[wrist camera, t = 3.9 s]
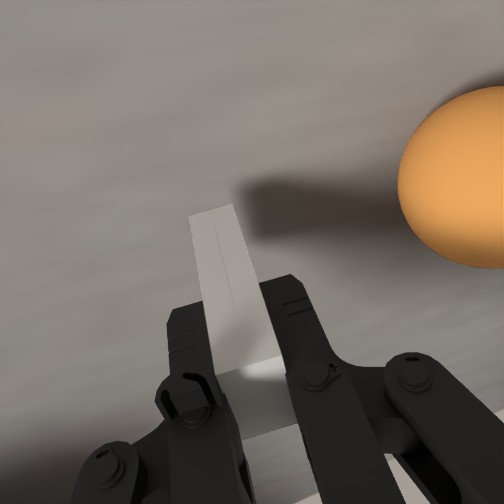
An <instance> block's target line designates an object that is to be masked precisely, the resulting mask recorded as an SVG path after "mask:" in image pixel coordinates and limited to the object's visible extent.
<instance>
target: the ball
mask: <svg viewBox="0 0 504 504" xmlns="http://www.w3.org/2000/svg"><path fill="white" fill-rule="evenodd" d="M398 196H399V200H400V205H401V209H402V211H403V214H404V216H405V218H406V220H407V222H408V224H409V226H410V227H411V229H412V230H413V231H414V233H415V234H416V235H417V237H418V238H419V239H420V240H421V241H422V242H423V243H425V244H426V245H427V246H428V247H429V248H430V249H432V250H433V251H435V252H436V253H438V254H439V255H441V256H443V257H445V258H447V259H449V260H452V261H454V262H456V263H459V264H463V265H467V266H471V267H478V268H489V269H494V268H504V86H496V87H487V88H482V89H478V90H475V91H471V92H468V93H466V94H463V95H461V96H458V97H456V98H454V99H452V100H451V101H449V102H447V103H446V104H444V105H443V106H441V107H440V108H438V109H437V110H436V111H434V112H433V113H432V114H431V115H430V116H429V117H427V118H426V119H425V120H424V121H423V123H422V124H421V125H420V126H419V127H418V128H417V130H416V131H415V133H414V134H413V135H412V137H411V139H410V140H409V142H408V144H407V146H406V148H405V151H404V153H403V156H402V159H401V162H400V166H399V171H398Z"/></svg>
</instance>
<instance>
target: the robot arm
mask: <svg viewBox="0 0 504 504" xmlns="http://www.w3.org/2000/svg"><path fill="white" fill-rule="evenodd" d="M189 222H190V228H191V234H192V240H193V246H194V252H195V258H196V264H197V270H198V276H199V281H200V287H201V293H202V299H203V301H200V302H197V303H193V304H190V305H186V306H183V307H179V308H176V309H173V310H172V312H171V315H170V317H169V320H168V322H167V338H168V351H169V366H170V375H169V376H168V377H167V378H166V379H165V380H163V381H162V383H161V385H160V386H159V388H158V390H157V391H156V397H155V403H156V405H157V407H158V408H159V410H160V412H161V414H162V415H163V417H164V421H163V422H162V423H161V424H160V425H159V426H158V427H157V428H156V429H155V430H153V431H152V432H151V433H149V434H148V435H146V436H145V437H143V438H142V439H140V440H139V441H137V442H135V443H134V444H132V445H130V444H128V443H127V442H121V441H115V442H111V443H107V444H105V445H103V446H101V447H100V448H98V449H97V450H95V451H94V452H93V453H92V454H91V455H90V456H89V458H88V459H87V460H86V461H85V463H84V465H83V467H82V469H81V471H80V473H79V476H78V479H77V482H76V485H75V488H74V491H73V495H72V498H71V501H70V504H256V500H255V495H254V491H253V486H252V481H251V476H250V471H249V466H248V462H247V459H246V457H245V455H244V452H243V447H242V442H241V438H242V440H244V439H247V438H250V437H254V436H257V435H260V434H264V433H267V432H270V431H273V430H277V429H280V428H283V427H287V426H290V425H293V424H296V423H298V424H299V427H300V431H301V434H302V438H303V442H304V446H305V450H306V454H307V457H308V460H309V462H310V465H311V468H312V471H313V474H314V478H315V481H316V484H317V487H318V491H319V494H320V497H321V500H322V503H323V504H406V503H405V500H404V498H403V496H402V494H401V491H400V490H399V487H398V485H397V483H396V481H395V478H394V476H393V474H392V472H391V470H390V467H389V465H388V463H387V460H386V458H385V456H384V454H383V453H387V454H392V455H393V456H394V457H395V459H396V460H397V461H398V462H399V464H400V465H401V466H402V468H403V469H404V470H405V471H406V473H407V474H408V475H409V476H410V478H411V479H412V480H413V482H414V483H415V484H416V485H417V487H418V488H419V489H420V491H421V492H422V493H423V495H424V496H425V497H426V498H427V500H428V501H429V502H430V504H504V423H503V422H502V421H501V420H500V419H499V418H498V417H497V416H496V415H495V414H493V413H492V412H491V411H490V410H489V409H488V408H487V407H486V406H485V405H484V404H483V403H482V402H481V401H480V400H479V399H478V398H476V397H475V396H474V395H473V394H472V393H471V392H470V391H469V390H468V389H467V388H466V387H465V386H464V385H463V384H462V383H461V382H459V381H458V380H457V379H456V378H455V377H454V376H453V375H452V374H451V373H450V372H449V371H448V370H447V369H446V368H445V367H444V366H442V365H441V364H440V363H439V362H438V361H436V360H435V359H433V358H432V357H430V356H428V355H425V354H421V353H418V352H407V353H403V354H400V355H397V356H394V357H393V358H392V359H391V360H390V361H389V362H387V364H386V367H361V366H355V365H352V364H348V363H347V362H345V361H343V360H341V359H340V358H339V357H338V356H337V355H336V354H335V353H334V351H333V350H332V348H331V346H330V344H329V342H328V339H327V337H326V335H325V333H324V330H323V328H322V326H321V324H320V321H319V319H318V317H317V315H316V312H315V310H314V309H313V306H312V303H311V301H310V299H309V297H308V295H307V292H306V290H305V288H304V286H303V283H301V282H300V281H299V280H298V279H296V278H295V277H294V276H292V275H291V274H289V275H285V276H282V277H278V278H275V279H272V280H268V281H265V282H261V283H258V281H257V278H256V275H255V272H254V268H253V265H252V262H251V259H250V256H249V253H248V250H247V247H246V244H245V241H244V238H243V235H242V232H241V229H240V226H239V223H238V219H237V216H236V213H235V210H234V207H233V204H230V205H226V206H223V207H219V208H216V209H212V210H209V211H205V212H202V213H198V214H195V215H191V216H189ZM240 436H241V437H240Z"/></svg>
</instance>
